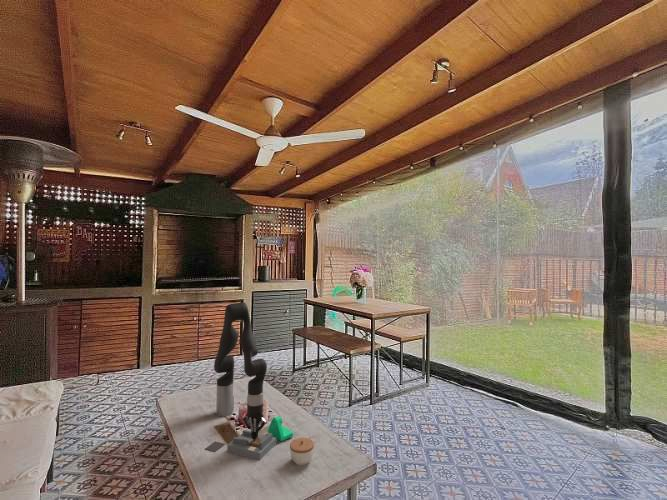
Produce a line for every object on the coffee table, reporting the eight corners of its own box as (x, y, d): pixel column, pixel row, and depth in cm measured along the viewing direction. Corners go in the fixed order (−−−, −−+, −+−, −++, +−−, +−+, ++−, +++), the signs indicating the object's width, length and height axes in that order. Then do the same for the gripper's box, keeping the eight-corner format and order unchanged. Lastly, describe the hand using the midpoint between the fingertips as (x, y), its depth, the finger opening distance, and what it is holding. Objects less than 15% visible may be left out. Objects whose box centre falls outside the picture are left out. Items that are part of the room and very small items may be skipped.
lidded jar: (291, 454, 154) (292, 433, 154) (314, 454, 153) (315, 434, 154) (287, 468, 143) (288, 446, 143) (312, 469, 143) (312, 447, 143)
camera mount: (293, 437, 168) (293, 417, 169) (281, 443, 163) (281, 422, 163) (279, 429, 177) (280, 409, 177) (267, 434, 171) (268, 414, 172)
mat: (215, 441, 164) (215, 441, 164) (225, 444, 161) (225, 443, 161) (204, 449, 157) (204, 448, 157) (215, 452, 155) (215, 451, 155)
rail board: (245, 436, 168) (245, 424, 169) (276, 443, 162) (276, 431, 162) (227, 451, 155) (227, 438, 156) (260, 459, 149) (260, 446, 149)
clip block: (256, 437, 161) (264, 439, 159) (256, 445, 161) (264, 447, 159) (250, 442, 156) (258, 444, 155) (250, 451, 156) (258, 453, 155)
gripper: (271, 401, 160) (270, 437, 160) (248, 396, 165) (247, 432, 164) (262, 407, 153) (262, 445, 153) (238, 402, 158) (238, 439, 157)
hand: (254, 438), depth 159 cm, fingers closed
